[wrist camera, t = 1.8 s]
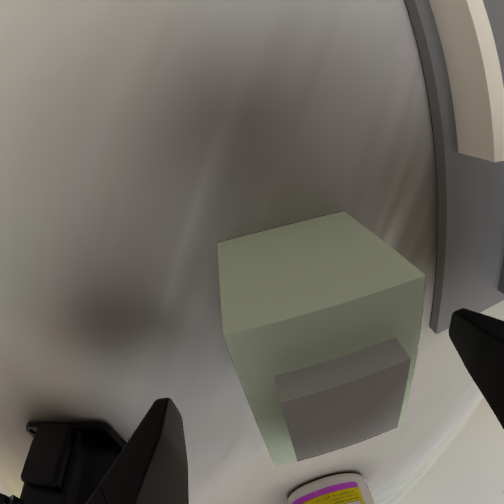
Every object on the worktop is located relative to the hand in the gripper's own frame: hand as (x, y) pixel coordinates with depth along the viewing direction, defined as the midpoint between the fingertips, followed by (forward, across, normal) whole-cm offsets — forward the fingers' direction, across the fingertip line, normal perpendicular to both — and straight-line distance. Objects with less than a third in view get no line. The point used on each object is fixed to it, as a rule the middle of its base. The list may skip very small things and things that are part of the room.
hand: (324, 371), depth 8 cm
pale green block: (+4, 0, 0) cm, 4 cm away
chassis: (+4, -12, -6) cm, 14 cm away
